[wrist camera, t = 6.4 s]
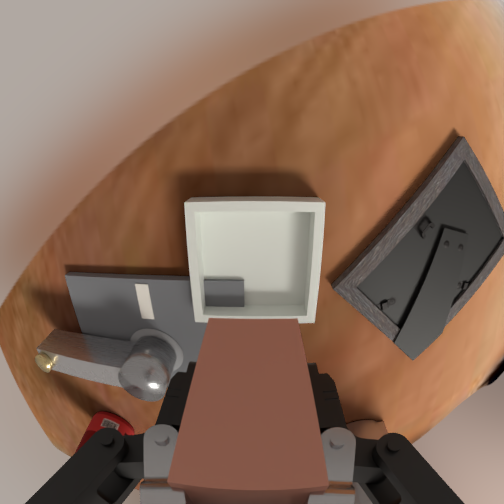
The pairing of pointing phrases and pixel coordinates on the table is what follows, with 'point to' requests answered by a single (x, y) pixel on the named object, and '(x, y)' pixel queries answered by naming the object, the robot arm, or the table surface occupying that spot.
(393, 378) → the table surface
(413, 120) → the table surface
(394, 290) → the picture frame
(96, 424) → the canned food
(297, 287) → the tray
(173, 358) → the crank
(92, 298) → the crank plate
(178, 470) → the block
